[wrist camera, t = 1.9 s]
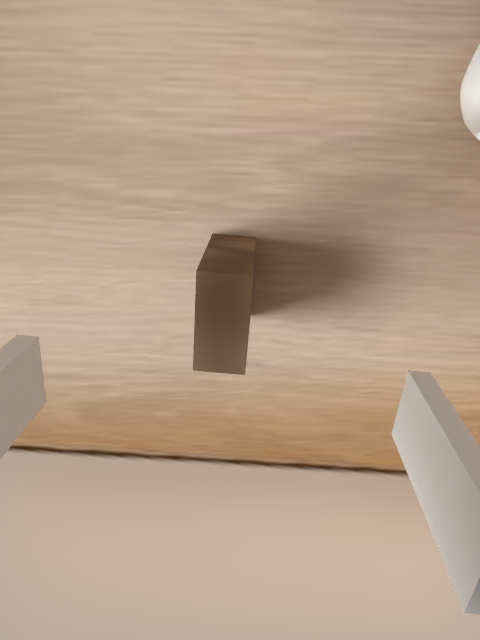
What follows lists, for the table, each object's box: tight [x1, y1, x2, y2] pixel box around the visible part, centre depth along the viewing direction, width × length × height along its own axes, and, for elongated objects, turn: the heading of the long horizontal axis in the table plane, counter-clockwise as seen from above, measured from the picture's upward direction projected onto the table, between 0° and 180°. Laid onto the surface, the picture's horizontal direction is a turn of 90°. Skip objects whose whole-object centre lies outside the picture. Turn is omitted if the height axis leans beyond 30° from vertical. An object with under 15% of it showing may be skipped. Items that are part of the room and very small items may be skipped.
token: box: [193, 234, 255, 375], centre depth 23 cm, size 2×5×7 cm, turn 176°
